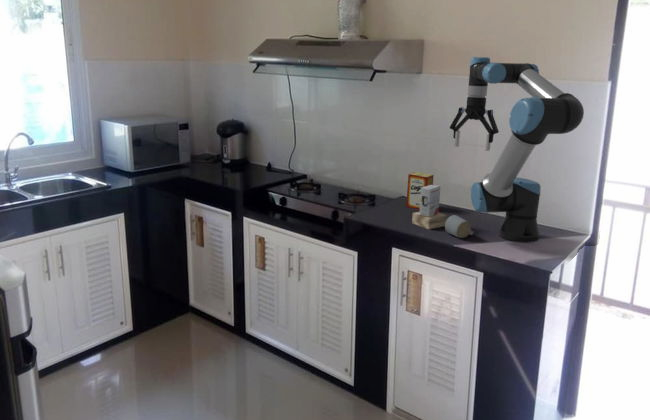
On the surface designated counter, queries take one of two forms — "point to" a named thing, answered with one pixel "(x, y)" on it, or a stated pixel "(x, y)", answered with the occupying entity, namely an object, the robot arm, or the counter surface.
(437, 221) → the maple block
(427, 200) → the ink box
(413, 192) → the baking soda box
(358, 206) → the counter surface
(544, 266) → the counter surface
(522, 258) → the counter surface
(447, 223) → the ceramic mug
